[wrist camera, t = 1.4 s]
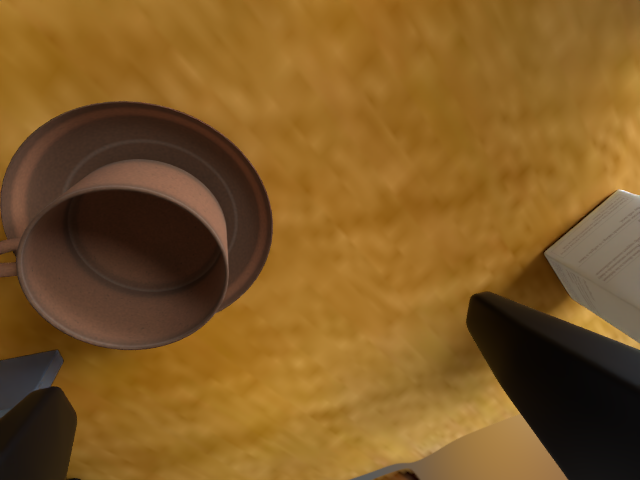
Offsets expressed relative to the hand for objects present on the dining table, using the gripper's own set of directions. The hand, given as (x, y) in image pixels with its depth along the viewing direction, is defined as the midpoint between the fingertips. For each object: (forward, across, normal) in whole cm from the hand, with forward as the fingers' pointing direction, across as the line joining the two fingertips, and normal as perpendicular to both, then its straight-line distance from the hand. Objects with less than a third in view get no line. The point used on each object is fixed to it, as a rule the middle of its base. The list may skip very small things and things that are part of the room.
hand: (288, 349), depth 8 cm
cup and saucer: (+13, +5, +2) cm, 14 cm away
